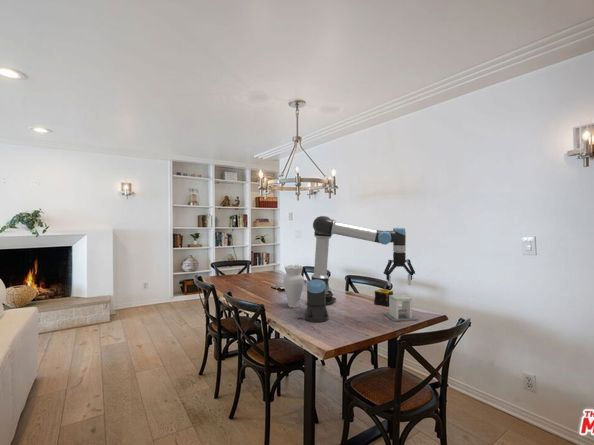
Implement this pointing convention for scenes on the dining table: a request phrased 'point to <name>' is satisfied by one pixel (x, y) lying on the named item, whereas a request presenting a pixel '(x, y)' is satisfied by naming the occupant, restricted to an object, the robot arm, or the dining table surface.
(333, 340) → the dining table surface
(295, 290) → the vase
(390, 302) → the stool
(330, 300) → the casserole
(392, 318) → the mat
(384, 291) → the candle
